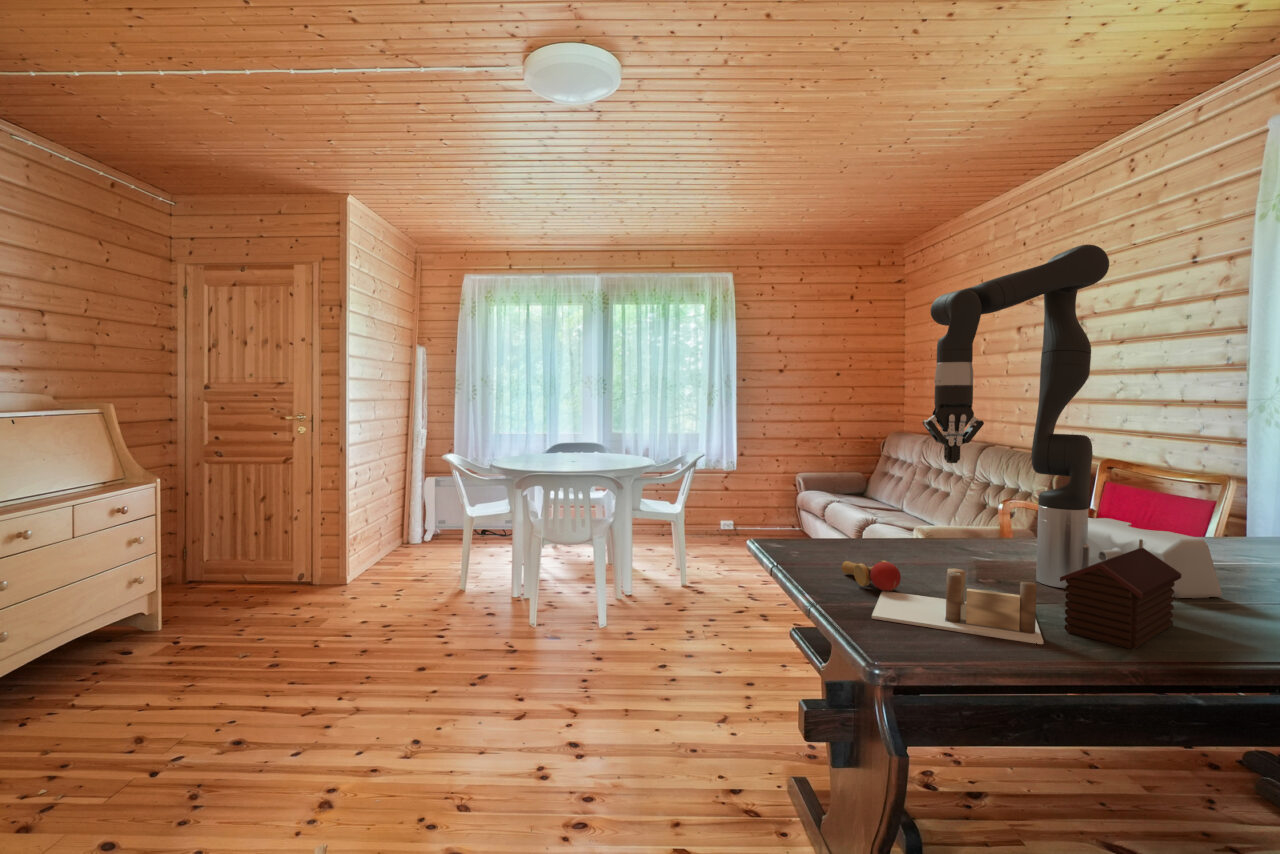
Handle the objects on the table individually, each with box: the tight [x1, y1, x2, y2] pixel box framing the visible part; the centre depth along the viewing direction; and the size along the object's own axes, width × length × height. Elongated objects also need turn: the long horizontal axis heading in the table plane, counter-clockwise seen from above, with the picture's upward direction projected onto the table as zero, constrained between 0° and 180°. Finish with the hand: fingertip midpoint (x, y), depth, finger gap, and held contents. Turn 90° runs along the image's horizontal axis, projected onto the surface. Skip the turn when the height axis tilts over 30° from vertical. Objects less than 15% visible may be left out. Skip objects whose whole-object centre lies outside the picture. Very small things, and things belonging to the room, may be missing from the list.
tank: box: [1087, 517, 1223, 599], centre depth 139 cm, size 25×16×12 cm, turn 6°
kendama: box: [841, 560, 902, 592], centre depth 137 cm, size 8×6×18 cm
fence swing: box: [946, 568, 966, 604], centre depth 120 cm, size 11×3×6 cm, turn 151°
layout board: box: [871, 590, 1044, 645], centre depth 118 cm, size 27×17×1 cm, turn 63°
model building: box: [1060, 539, 1181, 650], centre depth 111 cm, size 21×12×15 cm, turn 125°
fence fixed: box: [945, 572, 1038, 634], centre depth 111 cm, size 14×2×9 cm, turn 63°
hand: (952, 462), depth 137 cm, fingers closed
